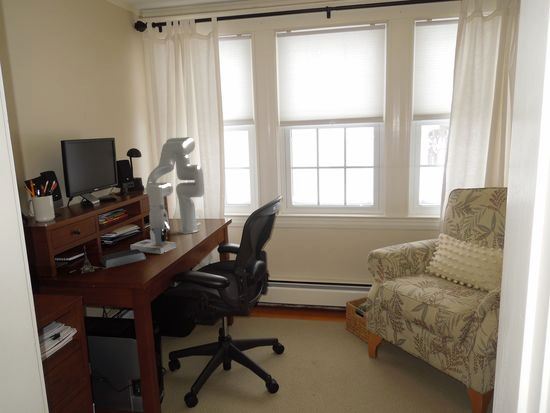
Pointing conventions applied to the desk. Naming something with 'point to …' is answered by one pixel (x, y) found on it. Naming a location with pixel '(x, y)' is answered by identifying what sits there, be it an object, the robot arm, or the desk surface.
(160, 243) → the peg
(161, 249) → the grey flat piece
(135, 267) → the desk surface
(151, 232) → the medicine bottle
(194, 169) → the robot arm
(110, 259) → the external hard drive
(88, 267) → the eiffel tower figurine
